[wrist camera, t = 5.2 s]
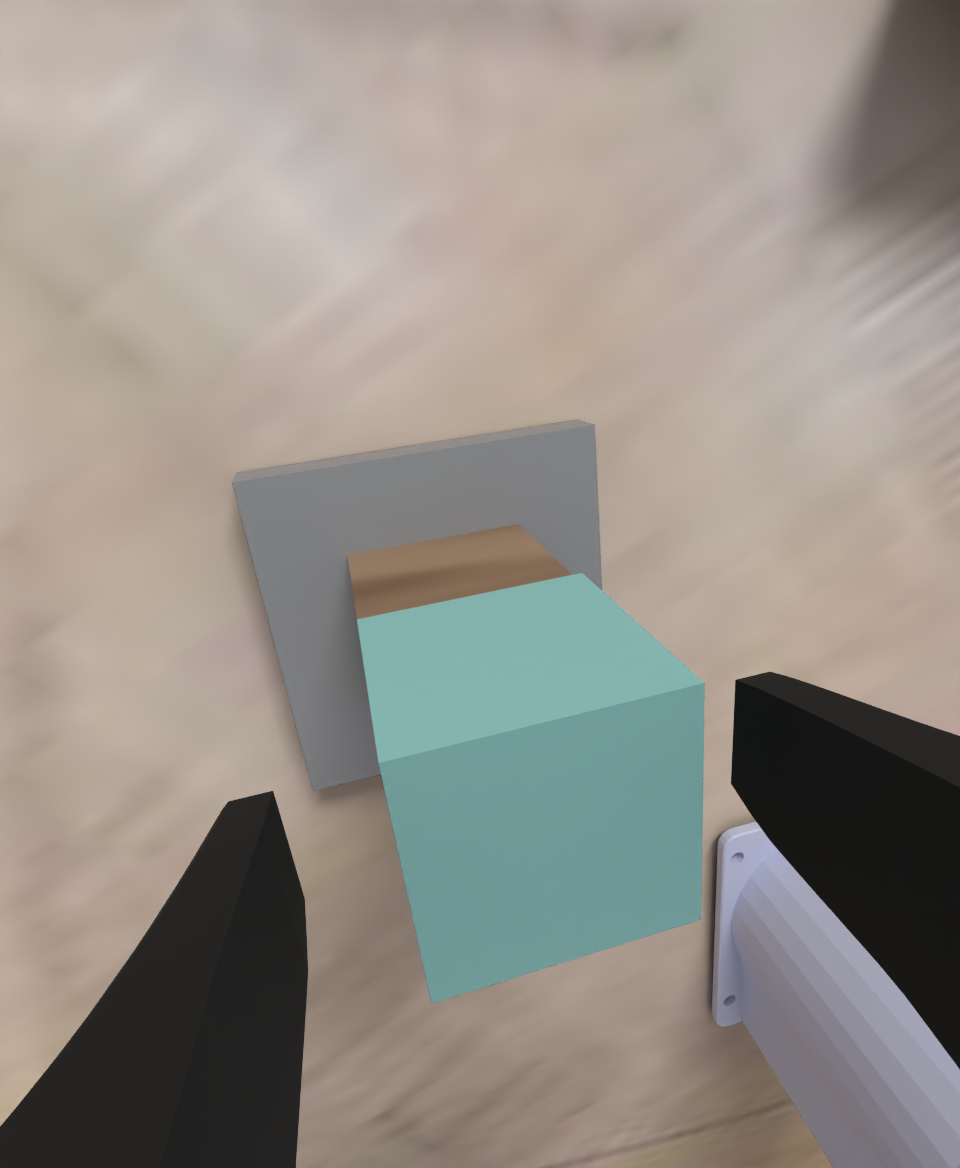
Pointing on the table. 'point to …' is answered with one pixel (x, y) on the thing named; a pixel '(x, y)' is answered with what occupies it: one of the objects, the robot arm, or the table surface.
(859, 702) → the robot arm
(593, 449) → the base plate
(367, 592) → the walnut block
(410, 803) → the teal block
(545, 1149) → the table surface
